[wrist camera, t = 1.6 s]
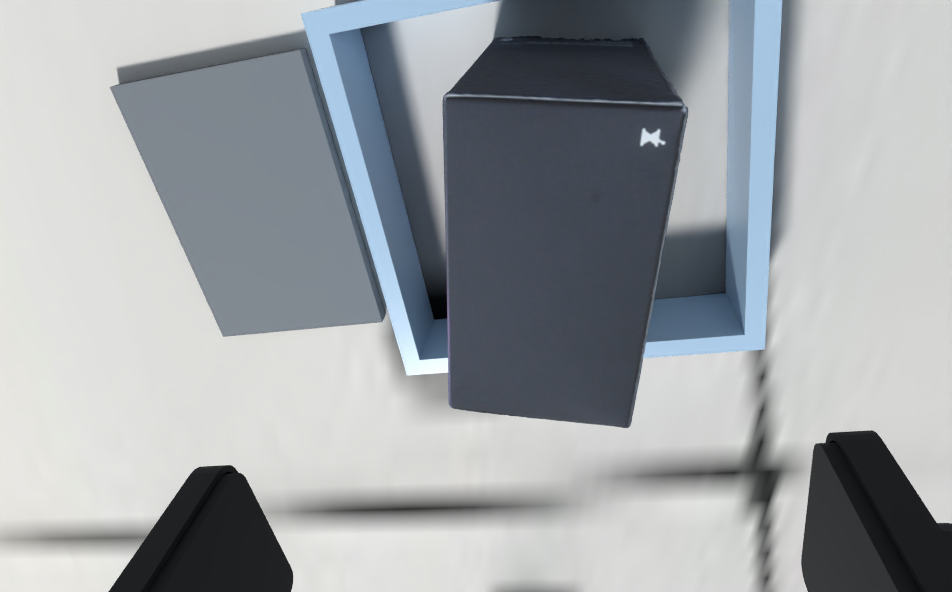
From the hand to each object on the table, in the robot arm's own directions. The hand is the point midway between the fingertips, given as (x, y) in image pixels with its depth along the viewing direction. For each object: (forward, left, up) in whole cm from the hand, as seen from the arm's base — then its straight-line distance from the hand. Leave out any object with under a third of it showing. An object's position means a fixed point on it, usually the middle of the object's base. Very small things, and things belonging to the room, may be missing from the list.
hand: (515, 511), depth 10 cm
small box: (0, 0, -19) cm, 19 cm away
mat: (+14, 0, -19) cm, 23 cm away
